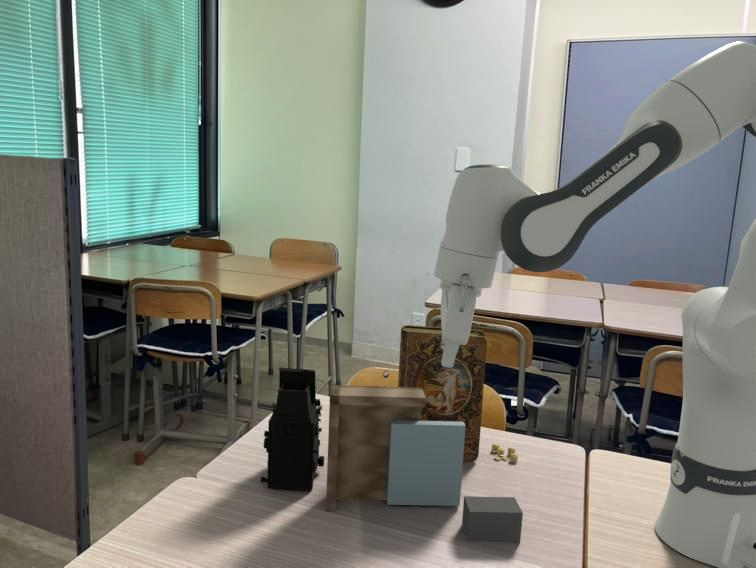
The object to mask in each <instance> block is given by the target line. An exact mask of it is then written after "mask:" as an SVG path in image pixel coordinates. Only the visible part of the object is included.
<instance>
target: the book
mask: <svg viewBox="0 0 756 568" xmlns="http://www.w3.org/2000/svg"><path fill="white" fill-rule="evenodd" d="M441 340H442V326H441V327H439V326H425V325H424V326H423V325H411V324H408V325H407V324H406V325H403V326H401V329H400V344H399V360H398V361H399V362H398V380H397V381H398V383H397V387H417V388H422V389H423V392H424V395H425V398H426V400H425V407H422V409H421V421H451V422H464V424H465V440H464V453H463V462H464V461H465V462H475V461H477V459H478V457H479V452H480V442H481V441H480V440H481V427H482V413H483V412H482V411H483V401H484V399H483V398H484V396H483V395H484V386H485V375H486V374H485V370H486V361H487V360H486V358H487V357H486V356H487V343H488V342H487V341H488V340H487V338H486V336H485V332H484V331H483V330H481V329H471V330H470V335H469V339H468V342H467V344H466V345H459V349H458V352H457V354H456V357H455V361H454V365H453V367H451V368H449V367H444V366H442V364H441V360H442V355H443V350H442V349H441Z"/></svg>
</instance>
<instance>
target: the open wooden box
mask: <svg viewBox="0 0 756 568" xmlns="http://www.w3.org/2000/svg"><path fill="white" fill-rule="evenodd" d="M329 390H330V391H329V408H328V410H329V411H328V436H327V437H328V438H327V439H328V442H327V443H328V444H327V445H328V446H327V467H326V468H327V472H326V498H325V499H326V500H325V511H326V512H336V504H337V503H336V500H367V501H369V500H372V501H373V500H375V501H376V500H377V501H379V500H381V501H382V500H383V501H387V485H388V466H389V447H390V427H391V420H411V421H421V409H422V407H425V400H426V398H425V395H424V392H423V389H422V388H417V387H398V386H381V385H380V386H379V385H378V386H377V385H375V386H373V385H347V384H346V385H344V384H343V385H341V384H330V389H329Z"/></svg>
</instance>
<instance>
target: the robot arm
mask: <svg viewBox="0 0 756 568" xmlns="http://www.w3.org/2000/svg"><path fill="white" fill-rule="evenodd" d="M740 128H743V129H744V130H745V131H746V132H747V133H748V134H750V135H752V136H753V137H754V138H756V44H755V43H754V44H753V43H751V42H746V41H736V42H732V43H728V44H726V45H724V46H722V47H720V48H718V49H716V50H714V51H712V52H711V53H709V54H706V55H705V56H703V57H702V58H700V59H699V60H696V61H695V62H693V63H691V64H689V65H688V66H687V67H686V68H684V69H683V70H681V71H679V72H678V73H676V74H675V75H674V76H672V77H671V78H670V79H669V80H667V81H665V83H663V84H662V85H661V86H660V87H658V88H657V89H655V90H654V91H653V92H652V93H651V94H650V95H649V96H647V98H645V100H644V101H643V102H642V103H640V104H639V106H637V108H635V110H634V111H633V112H632V113H631V115H629V117H628V118H627V119H626V122H625V126H624V130H623V133H622V134H621V136H620V138H619V139H618V140H617V141H616V143H615V144H614V145H613V147H611V148H610V150H607V152H606V153H605V154H603V155H602V156H601V157H600V158H598V159H597V160H596V161H595V162H593V163H592V164H591V165H589V166H588V167H587V168H585V169H584V170H583V171H581V172H580V173H579V174H577V175H576V176H575V177H573V178H572V179H571V180H569V181H568V182H567V183H566V184H564V185H562V186H560V187H558V188H557V189H553V190H552V191H548V192H544V193H540V192H539V191H537V190H535V189H534V188H532V187H531V186H530V185H528V184H527V183H526V182H525V181H523V180H522V179H521V178H520V177H519V176H518V175H517V174H515V172H514V170H513V169H512V168H511V167H510V166H507V165H503V164H489V163H488V164H487V163H486V164H473V165H470V166H467V167H465V168H464V169H462V170H461V171H460V172H459V174H458V175H457V177H456V179H455V181H454V184H453V186H452V190H451V194H450V198H449V202H448V205H447V210H446V214H445V225H446V226H445V232H444V235H443V237H442V240H441V242H440V244H439V250H438V254H437V259H436V263H435V269H434V272H433V276H434V277H435V278H436V279H439V280H440V284H439V285H440V286H439V288H440V290H441V298H440V299H441V300H440V320H441V321H440V322H441V327H442V340H441V349H442V350H443V355H442V360H441V364H442V366H444V367H449V368H451V367H453V365H454V361H455V357H456V354H457V352H458V349H459V345H466V344H467V342H468V339H469V335H470V330H472V325H473V319H474V314H475V309H476V303H477V298H479V297H481V296H482V291H483V289H491V287H492V285H493V281H494V274H495V271H496V267H497V262H498V258H499V254H500V253H501V252H504V253H505V255H506V256H507V257H508V258H509V260H510V261H511V262H512V263H513V264H514V265H516V266H518V267H519V268H521V269H523V270H525V271H528V272H533V273H547V272H552V271H554V270H557V269H559V268H562V267H563V266H564V265H566V264H567V263H568V262H569V261H570V260H572V257H574V256H575V254H576V253H577V252H578V250H579V248H580V247H581V244H582V243H583V241H584V239H585V237H586V235H587V234H588V232H589V231H590V229H592V227H593V226H594V225H595V224H596V223H598V221H600V220H601V219H602V218H603V217H605V216H606V215H607V214H609V213H610V212H611V211H613V210H615V208H617V207H618V206H619V205H620V204H621V203H623V202H624V201H626V200H627V199H628V198H630V196H633V194H635V193H636V192H637V191H639V190H640V189H642V188H643V187H644V186H645V185H647V184H648V183H650V182H652V181H653V180H655V179H657V178H660V177H661V176H664V175H666V174H668V173H670V172H673V171H675V170H676V169H679V168H681V167H683V166H685V165H687V164H688V163H690V162H692V161H694V160H696V159H698V158H699V157H701V156H702V155H704V154H705V153H707V152H708V151H710V150H711V149H713V147H715V146H717V145H718V144H719V143H721V142H722V141H723V140H725V139H726V138H728V137H729V136H730V135H731V134H733V133H734V132H736V130H739V129H740ZM680 318H681V324H682V326H681V327H682V383H683V385H682V386H683V387H682V389H683V394H682V395H683V396H682V405H681V406H682V407H681V414H680V420H679V421H680V422H679V428H678V429H679V430H678V435H677V436H678V437H677V442H676V443H675V444H674V446H673V449H672V450H673V451H672V456H671V463H670V464H671V465H670V483H669V486H668V491H667V494H666V497H665V499H664V500H665V501H664V502H663V506H662V508H661V510H660V513H659V515H658V517H657V519H656V520H655V522H654V530H655V532H656V535H658V537H659V538H660V540H661V541H663V542H664V543H665V544H666V545H668V546H669V547H670V548H672V549H673V550H675V551H677V552H678V553H680V554H682V555H684V556H686V557H688V558H690V559H692V560H695V561H697V562H700V563H704V564H706V565H710V566H713V567H716V568H756V218H755V219H754V220H753V222H752V224H751V225H750V226H749V228H748V230H747V231H746V234H745V235H744V237H742V240H741V243H740V246H739V255H738V261H737V263H736V266H735V269H734V271H733V274H732V277H731V279H730V282H729V284H728V286H713V287H707V288H704V289H700V290H698V291H696V292H695V293H693V294H692V295H691V296H690V297H689V298H688V299H687V300H686V301H685V303H684V305H683V307H682V309H681V317H680Z"/></svg>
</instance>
